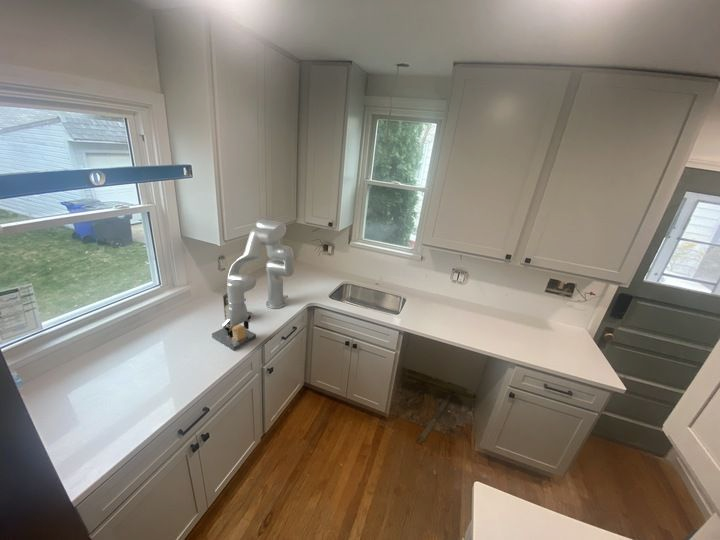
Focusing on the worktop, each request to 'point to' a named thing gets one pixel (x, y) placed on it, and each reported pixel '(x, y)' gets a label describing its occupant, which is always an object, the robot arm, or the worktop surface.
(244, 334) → the tan cardboard cube
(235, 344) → the plate
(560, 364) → the worktop surface
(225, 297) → the coffee box
